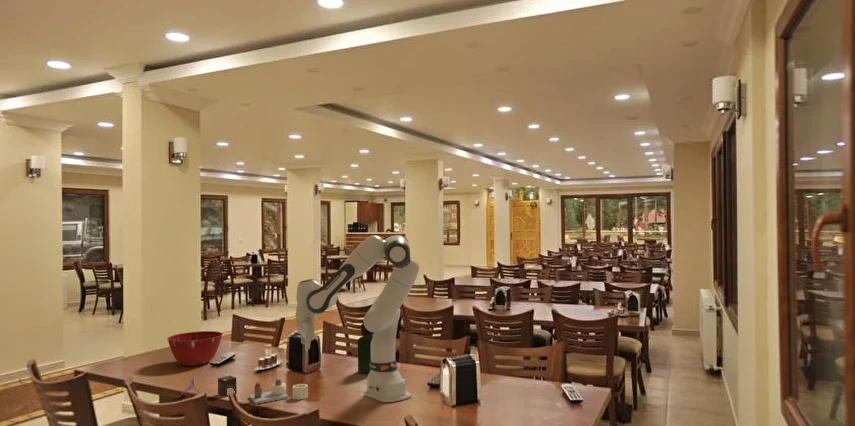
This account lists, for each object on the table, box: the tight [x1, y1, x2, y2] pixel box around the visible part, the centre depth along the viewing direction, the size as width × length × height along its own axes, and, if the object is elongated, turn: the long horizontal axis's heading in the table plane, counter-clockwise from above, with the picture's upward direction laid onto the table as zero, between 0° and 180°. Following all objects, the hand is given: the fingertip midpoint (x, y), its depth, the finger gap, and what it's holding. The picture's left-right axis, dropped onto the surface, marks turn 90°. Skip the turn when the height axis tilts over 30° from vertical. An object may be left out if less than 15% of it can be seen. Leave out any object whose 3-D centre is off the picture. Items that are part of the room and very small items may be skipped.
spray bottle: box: [357, 322, 374, 375], centre depth 281 cm, size 10×10×25 cm
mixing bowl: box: [167, 330, 224, 367], centre depth 304 cm, size 28×28×15 cm
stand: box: [248, 378, 289, 405], centre depth 240 cm, size 11×15×7 cm
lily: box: [179, 374, 200, 397], centre depth 246 cm, size 12×12×10 cm
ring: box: [292, 383, 309, 401], centre depth 240 cm, size 6×6×5 cm
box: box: [217, 375, 237, 397], centre depth 247 cm, size 6×6×7 cm
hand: (305, 346), depth 244 cm, fingers open, 8 cm apart
